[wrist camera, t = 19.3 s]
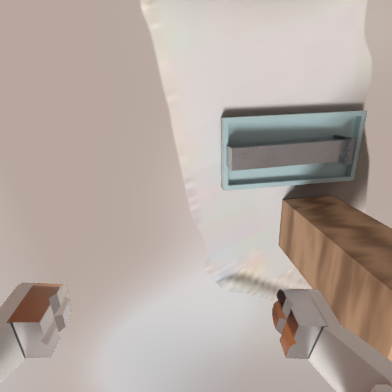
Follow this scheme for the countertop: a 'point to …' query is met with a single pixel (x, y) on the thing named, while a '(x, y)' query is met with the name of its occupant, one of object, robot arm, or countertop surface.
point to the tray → (289, 131)
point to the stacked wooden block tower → (343, 263)
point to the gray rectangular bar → (290, 153)
